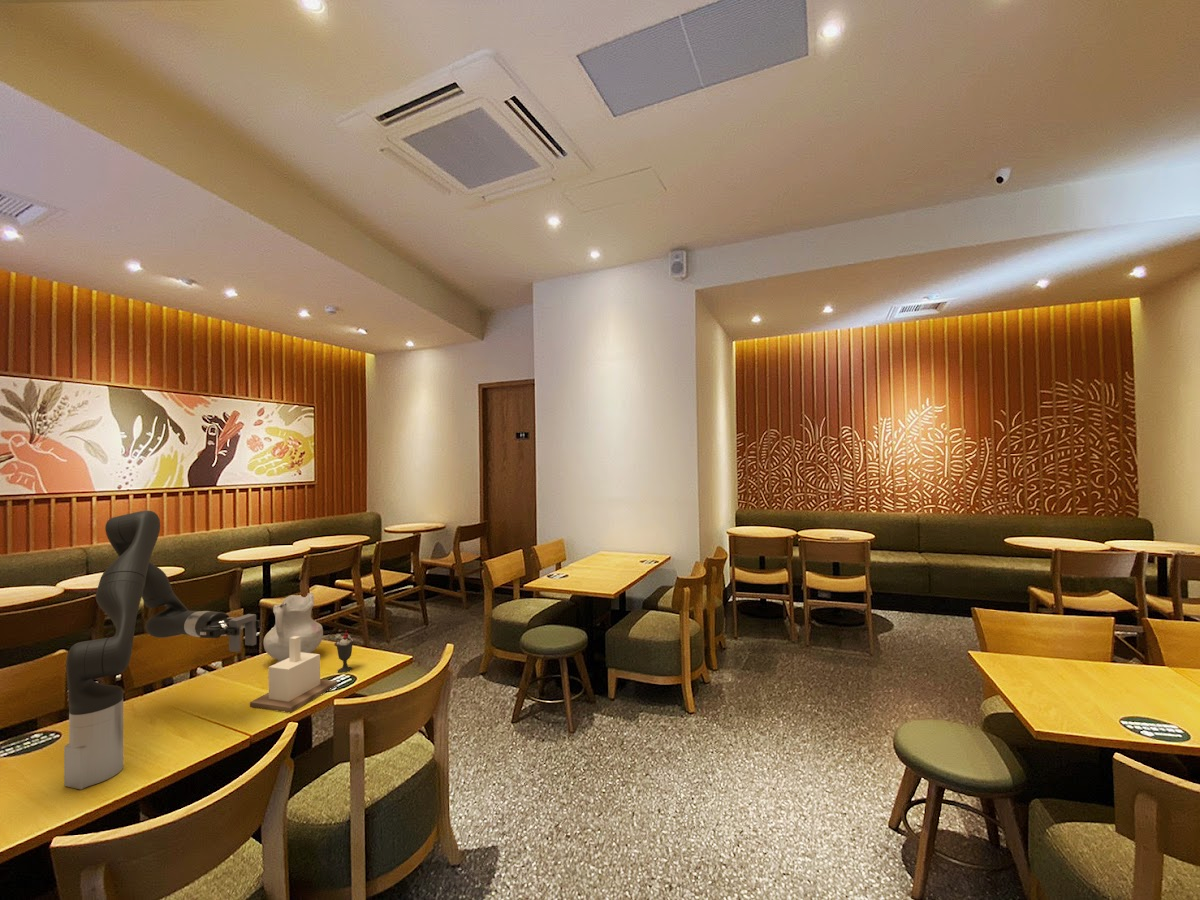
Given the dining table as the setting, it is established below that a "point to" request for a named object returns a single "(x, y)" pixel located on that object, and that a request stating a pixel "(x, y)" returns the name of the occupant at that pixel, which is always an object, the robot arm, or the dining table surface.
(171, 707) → the dining table surface
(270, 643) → the ceramic pitcher
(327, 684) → the display base
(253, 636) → the gray u-shaped archway
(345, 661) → the sundae
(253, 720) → the dining table surface
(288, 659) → the white block with post
